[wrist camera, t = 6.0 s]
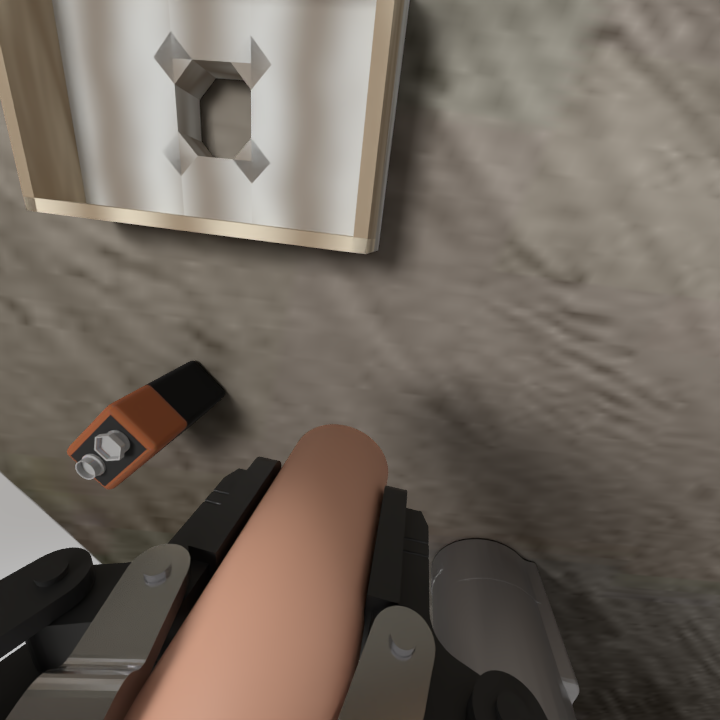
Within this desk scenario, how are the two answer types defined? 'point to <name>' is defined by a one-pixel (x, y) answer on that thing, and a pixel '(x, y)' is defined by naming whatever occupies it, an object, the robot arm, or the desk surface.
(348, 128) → the box
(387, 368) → the desk surface
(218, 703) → the peg
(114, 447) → the battery
